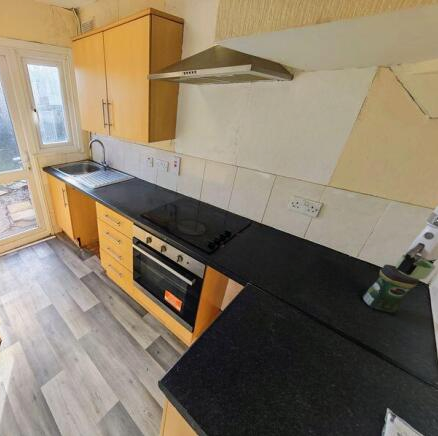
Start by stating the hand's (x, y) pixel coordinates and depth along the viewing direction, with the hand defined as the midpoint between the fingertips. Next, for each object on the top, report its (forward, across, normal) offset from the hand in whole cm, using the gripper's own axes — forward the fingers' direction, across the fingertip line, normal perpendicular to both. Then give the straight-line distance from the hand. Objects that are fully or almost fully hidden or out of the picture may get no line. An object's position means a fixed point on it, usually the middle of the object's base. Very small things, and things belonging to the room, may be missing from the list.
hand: (411, 270), depth 73 cm
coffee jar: (+25, +11, +5) cm, 27 cm away
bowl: (+1, 0, 0) cm, 1 cm away
